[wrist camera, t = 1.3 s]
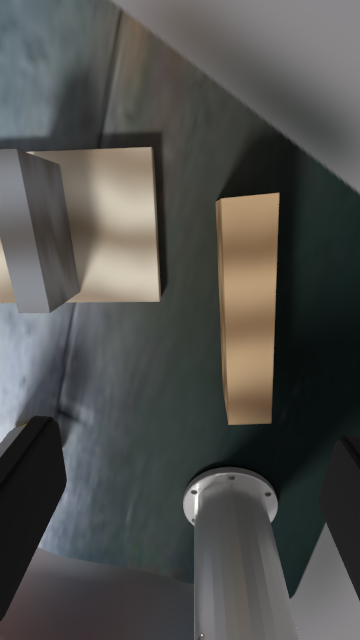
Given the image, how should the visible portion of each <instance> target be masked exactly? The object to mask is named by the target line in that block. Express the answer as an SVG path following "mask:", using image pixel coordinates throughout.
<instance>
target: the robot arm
mask: <svg viewBox="0 0 360 640" xmlns="http://www.w3.org/2000/svg"><path fill="white" fill-rule="evenodd" d="M66 481H67V478H66V471H65V464H64V458H63V451H62V445H61V438H60V431H59V425H58V423H57V422H54V419H53V418H52V417H43V416H34V417H33V418H32V419H31V420H30V421H29V422H28V423H27V425H26V426H25V427H24V428H23V430H22V431H21V432H20V433H19V435H18V436H17V437H16V438H15V440H14V441H13V442H12V443H11V444H10V446H9V447H8V448H7V449H6V451H5V452H4V453H3V454H2V456H1V457H0V621H1V620H2V619H3V617H4V616H5V614H6V612H7V610H8V608H9V606H10V603H11V601H12V599H13V597H14V595H15V593H16V591H17V589H18V587H19V585H20V583H21V581H22V578H23V576H24V574H25V572H26V570H27V568H28V566H29V563H30V562H31V559H32V557H33V555H34V553H35V551H36V549H37V547H38V545H39V543H40V540H41V538H42V536H43V534H44V532H45V530H46V528H47V526H48V524H49V522H50V519H51V517H52V515H53V513H54V511H55V509H56V507H57V505H58V503H59V500H60V498H61V496H62V494H63V492H64V490H65V487H66ZM319 505H320V509H321V511H322V514H323V516H324V518H325V521H326V523H327V525H328V528H329V530H330V532H331V534H332V537H333V539H334V542H335V544H336V547H337V549H338V551H339V554H340V556H341V558H342V561H343V563H344V565H345V567H346V570H347V572H348V574H349V577H350V579H351V581H352V584H353V586H354V589H355V591H356V593H357V596H358V598H359V600H360V437H355V436H342V437H341V439H340V440H337V441H336V443H335V446H334V449H333V452H332V455H331V459H330V462H329V465H328V469H327V472H326V475H325V479H324V482H323V485H322V489H321V492H320V495H319ZM183 509H184V512H185V515H186V517H187V519H188V520H189V521H190V522H191V523H192V524H193V525H194V640H299V637H298V633H297V629H296V625H295V621H294V616H293V613H292V609H291V604H290V600H289V596H288V592H287V588H286V584H285V580H284V576H283V572H282V567H281V563H280V559H279V555H278V551H277V547H276V543H275V539H274V535H273V531H272V527H271V522H272V521H273V519H274V517H275V515H276V513H277V509H278V502H277V498H276V494H275V491H274V489H273V487H272V486H271V484H270V483H269V482H268V481H267V480H266V479H265V478H264V477H262V476H261V475H259V474H257V473H255V472H253V471H250V470H247V469H243V468H238V467H222V468H216V469H212V470H209V471H206V472H204V473H202V474H200V475H199V476H197V477H195V478H194V479H193V480H192V481H191V482H190V483H189V485H188V486H187V487H186V490H185V492H184V498H183Z"/></svg>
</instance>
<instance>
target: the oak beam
mask: <svg viewBox="0 0 360 640" xmlns="http://www.w3.org/2000/svg"><path fill="white" fill-rule="evenodd" d="M278 216H279V193H272V194H262V195H252V196H242V197H232V198H221V199H220V200H218V201H216V223H217V248H218V273H219V299H220V324H221V349H222V375H223V392H224V398H225V404H226V411H227V417H228V423H229V425H237V424H266V423H271V417H272V389H273V360H274V331H275V302H276V274H277V245H278Z"/></svg>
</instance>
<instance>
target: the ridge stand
mask: <svg viewBox="0 0 360 640" xmlns="http://www.w3.org/2000/svg"><path fill="white" fill-rule="evenodd" d="M160 299H161V284H160V264H159V244H158V224H157V204H156V184H155V164H154V150H153V149H152V147H140V148H114V149H89V150H64V151H38V152H24V151H22V150H19V149H0V303H16V304H17V308H18V312H19V313H50V312H52V311H53V310H55V309H56V308H58V307H59V306H61V305H62V304H64V303H65V302H159V301H160Z"/></svg>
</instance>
